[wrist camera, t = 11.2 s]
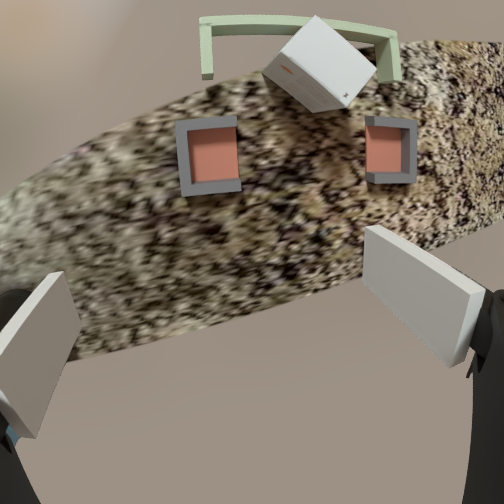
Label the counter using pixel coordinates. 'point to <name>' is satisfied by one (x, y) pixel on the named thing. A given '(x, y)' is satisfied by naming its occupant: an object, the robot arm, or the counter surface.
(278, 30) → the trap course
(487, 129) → the counter surface
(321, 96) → the small box
